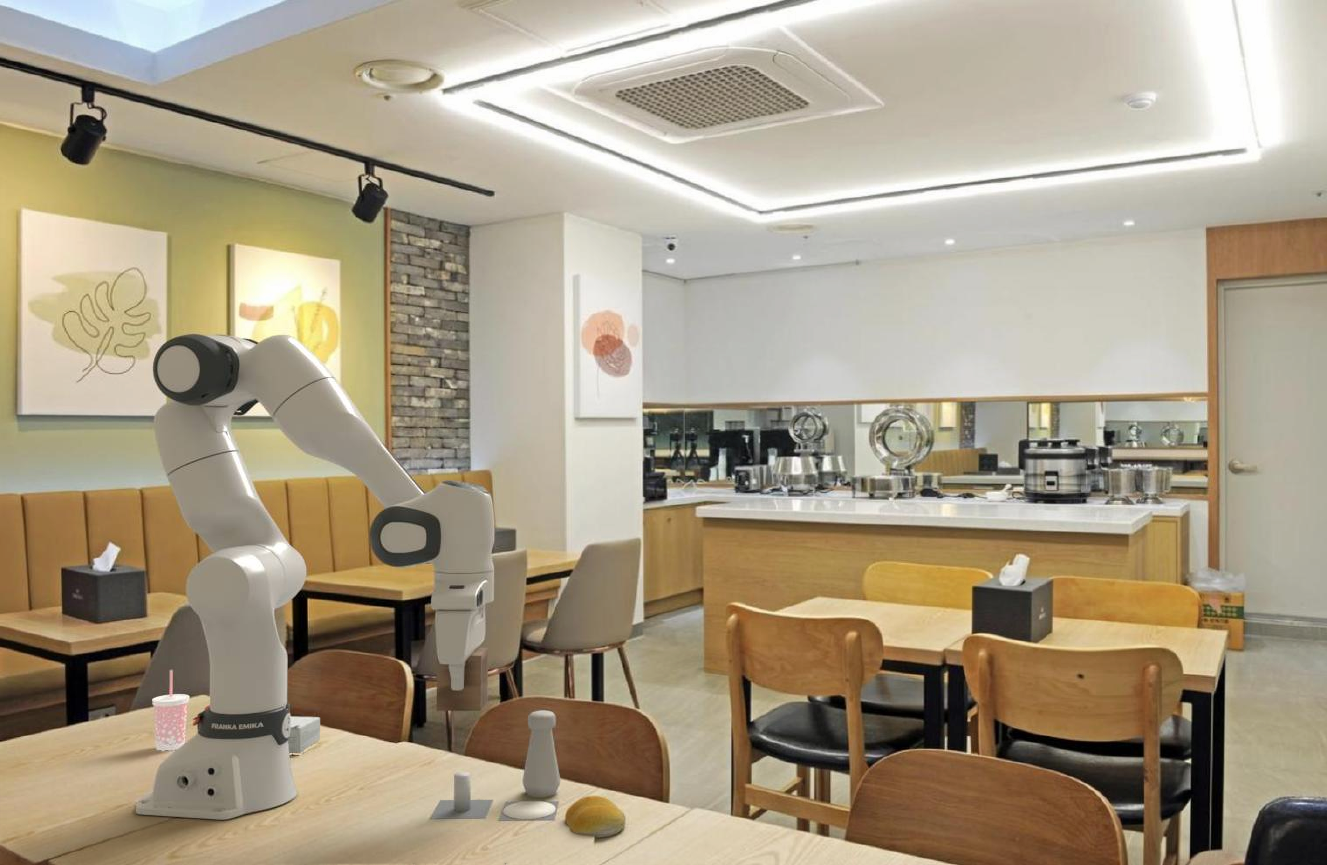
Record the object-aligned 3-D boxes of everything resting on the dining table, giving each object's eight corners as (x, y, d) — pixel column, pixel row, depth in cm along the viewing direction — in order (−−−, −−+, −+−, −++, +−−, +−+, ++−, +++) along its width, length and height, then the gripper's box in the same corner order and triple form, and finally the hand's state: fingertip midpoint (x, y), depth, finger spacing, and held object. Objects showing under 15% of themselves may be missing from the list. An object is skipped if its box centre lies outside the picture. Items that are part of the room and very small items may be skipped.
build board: (498, 824, 145) (498, 819, 145) (505, 805, 153) (505, 800, 153) (554, 823, 145) (554, 818, 145) (558, 805, 153) (558, 799, 153)
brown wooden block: (436, 710, 148) (437, 655, 148) (445, 700, 154) (445, 647, 154) (480, 710, 148) (481, 655, 148) (487, 700, 154) (488, 647, 154)
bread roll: (577, 843, 138) (577, 814, 138) (560, 821, 147) (560, 793, 147) (634, 835, 141) (634, 806, 141) (614, 814, 150) (614, 787, 150)
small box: (281, 743, 188) (281, 715, 188) (321, 744, 187) (321, 716, 187) (258, 754, 180) (258, 725, 180) (299, 756, 179) (300, 727, 179)
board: (429, 822, 146) (429, 783, 146) (440, 803, 154) (440, 766, 154) (485, 822, 146) (485, 782, 146) (493, 803, 154) (493, 766, 154)
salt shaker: (553, 804, 154) (553, 717, 154) (517, 801, 155) (517, 715, 155) (564, 791, 159) (565, 708, 160) (530, 789, 161) (530, 706, 161)
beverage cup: (178, 752, 181) (179, 673, 182) (144, 752, 181) (145, 673, 182) (195, 742, 187) (196, 666, 188) (162, 742, 187) (163, 666, 188)
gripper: (455, 581, 162) (454, 669, 161) (428, 598, 141) (427, 699, 141) (495, 581, 162) (494, 669, 161) (473, 599, 141) (472, 699, 141)
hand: (462, 683), depth 151 cm, fingers closed on brown wooden block, 6 cm apart
